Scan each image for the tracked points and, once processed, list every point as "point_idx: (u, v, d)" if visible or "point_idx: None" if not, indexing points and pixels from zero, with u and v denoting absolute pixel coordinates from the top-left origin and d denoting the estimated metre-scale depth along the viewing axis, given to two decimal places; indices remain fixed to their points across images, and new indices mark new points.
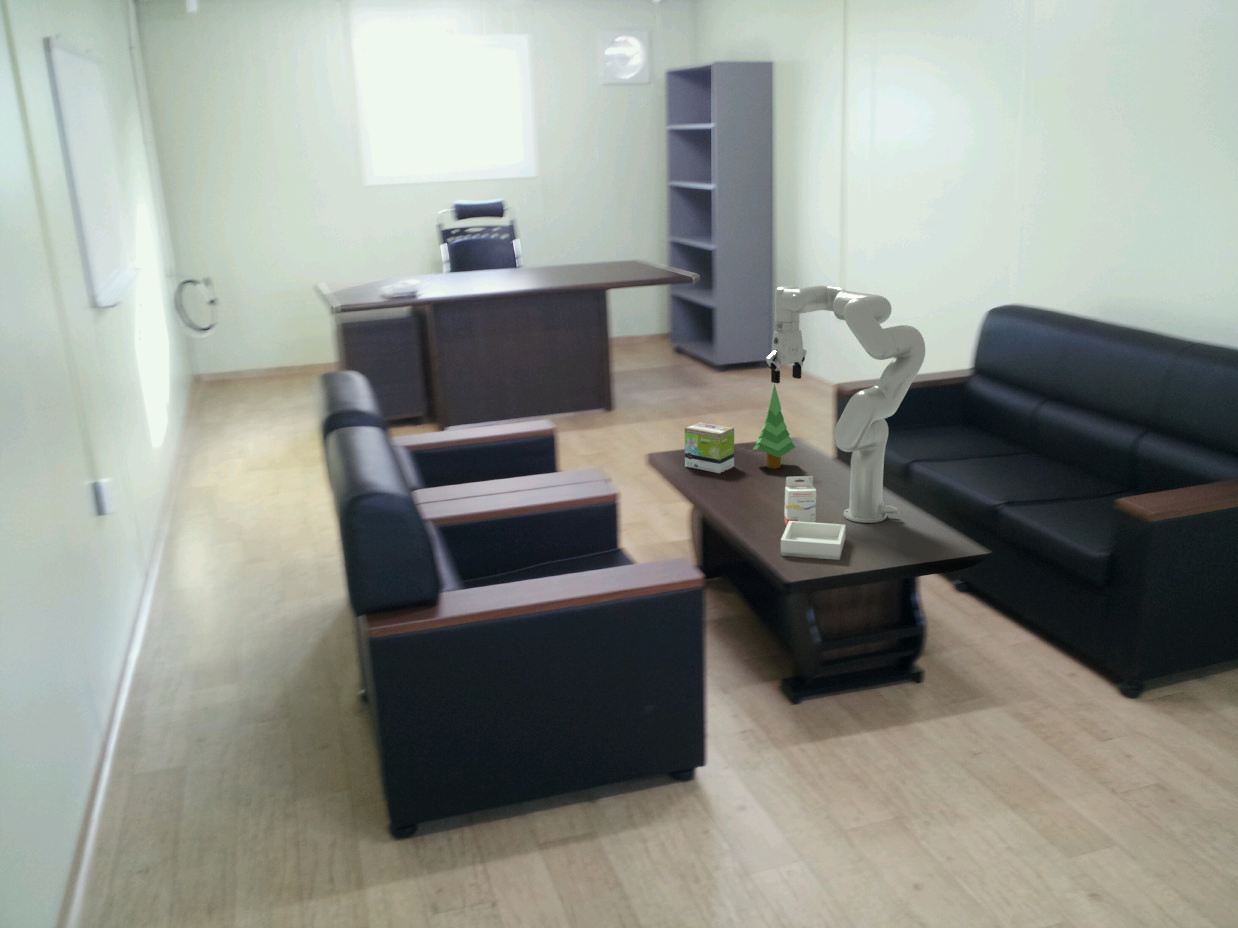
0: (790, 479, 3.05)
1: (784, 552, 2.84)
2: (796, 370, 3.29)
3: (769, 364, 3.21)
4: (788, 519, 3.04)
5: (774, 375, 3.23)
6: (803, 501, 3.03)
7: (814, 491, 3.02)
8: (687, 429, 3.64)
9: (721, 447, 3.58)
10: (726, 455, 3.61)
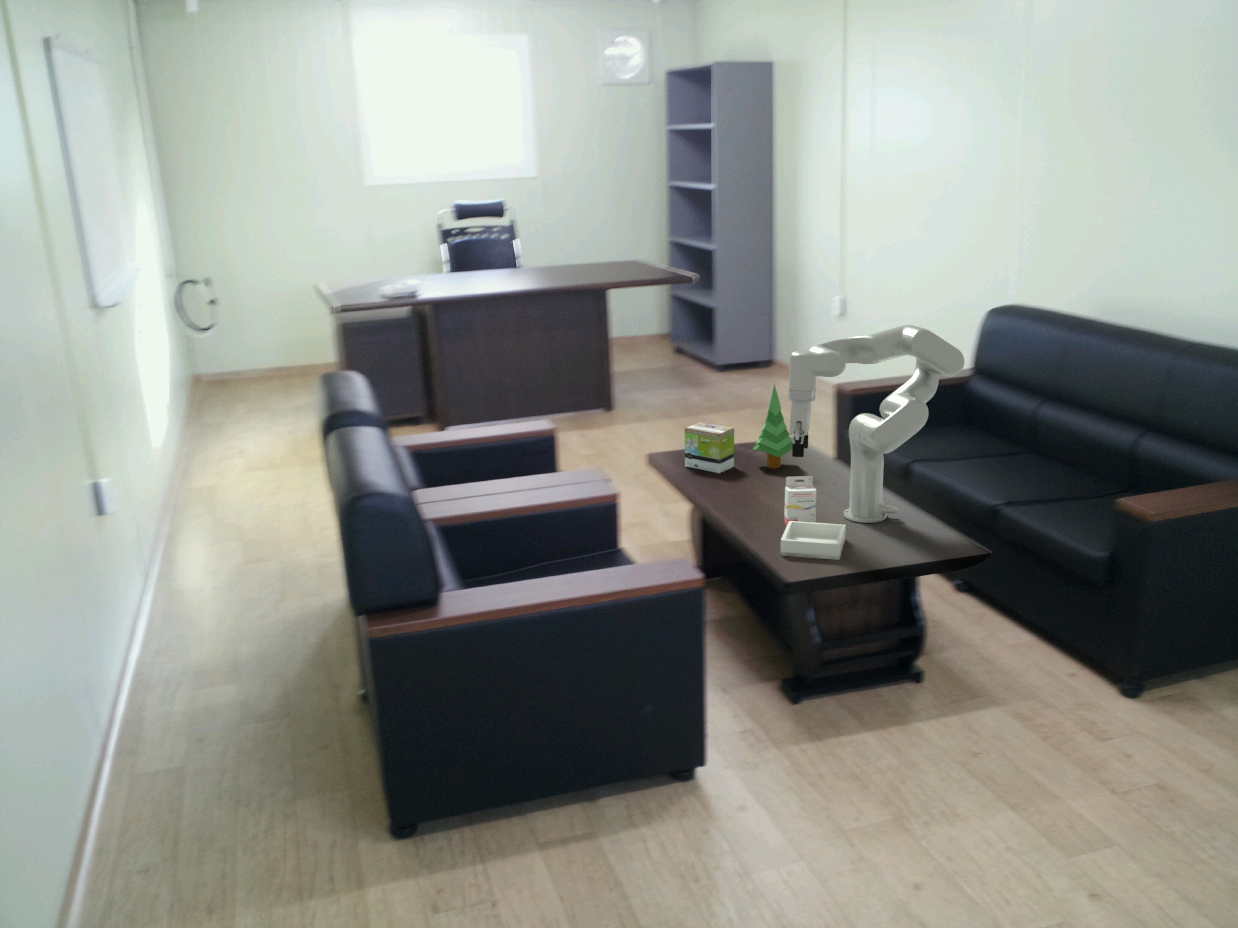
0: (790, 479, 3.05)
1: (784, 552, 2.84)
2: None
3: None
4: (788, 519, 3.04)
5: None
6: (803, 501, 3.03)
7: (814, 491, 3.02)
8: (687, 429, 3.64)
9: (721, 447, 3.58)
10: (726, 455, 3.61)
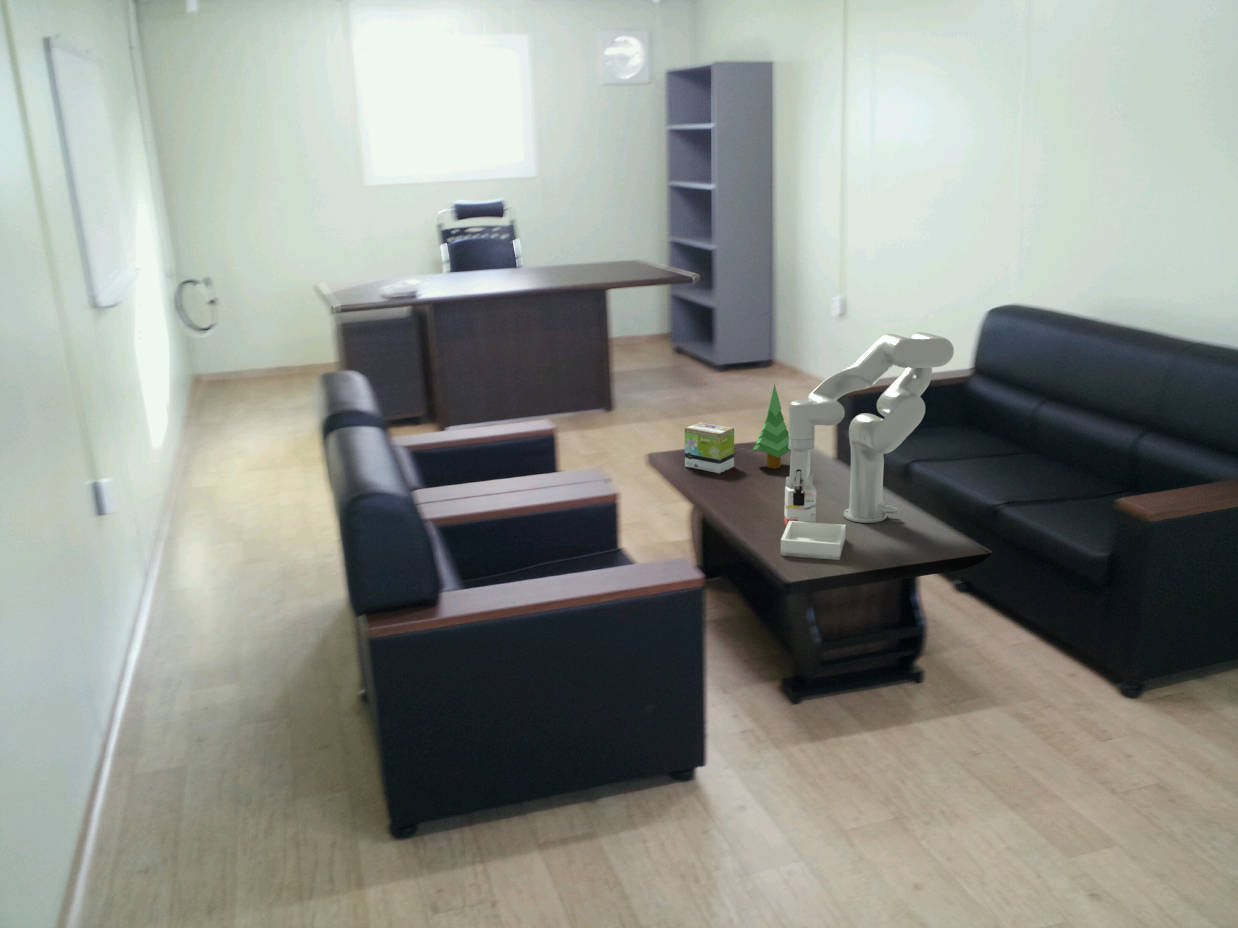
0: None
1: (784, 552, 2.84)
2: None
3: None
4: (788, 519, 3.04)
5: None
6: None
7: (814, 491, 3.02)
8: (687, 429, 3.64)
9: (721, 447, 3.58)
10: (726, 455, 3.61)
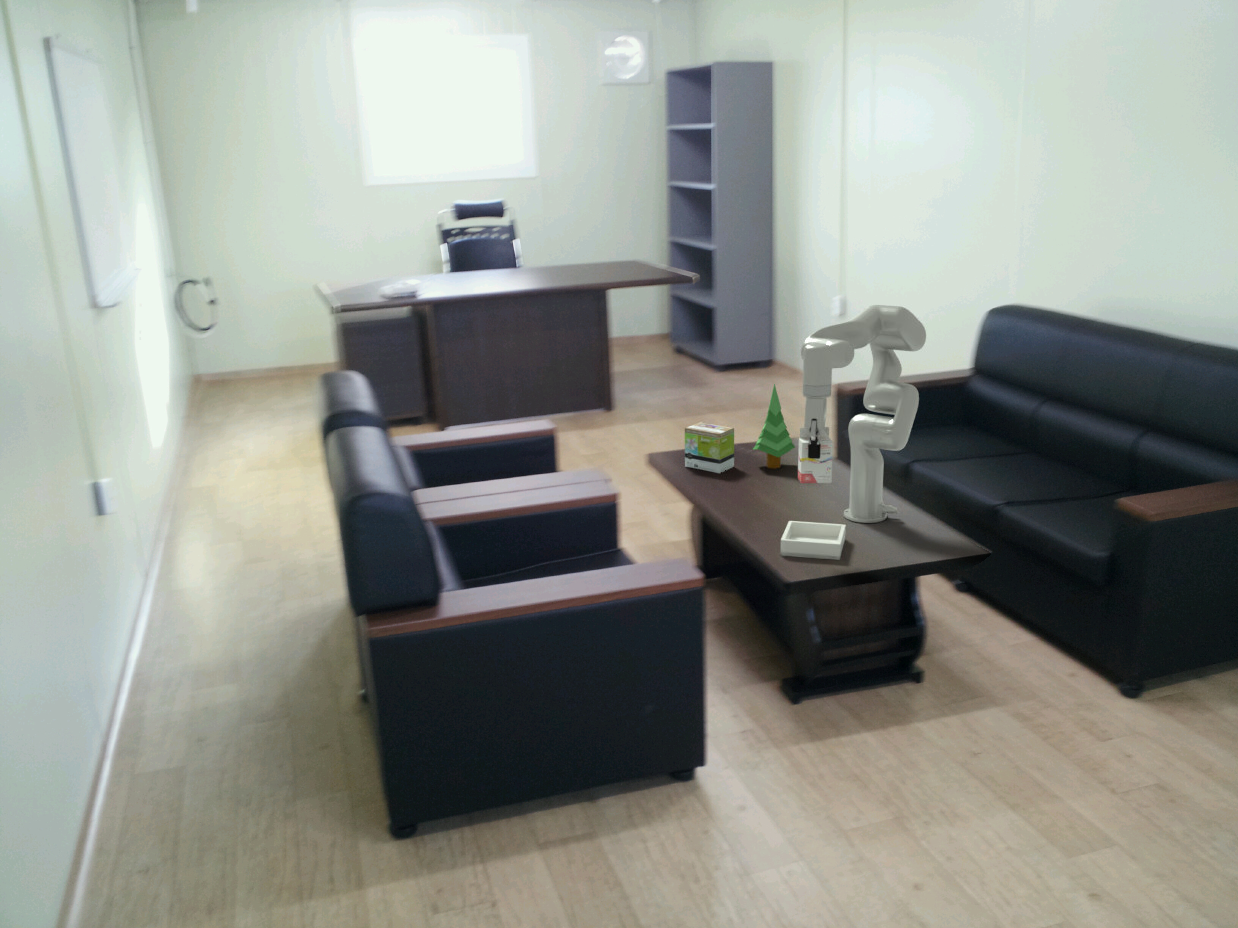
0: None
1: (784, 552, 2.84)
2: None
3: None
4: (802, 473, 2.81)
5: None
6: None
7: (830, 443, 2.79)
8: (687, 429, 3.64)
9: (721, 447, 3.58)
10: (726, 455, 3.61)
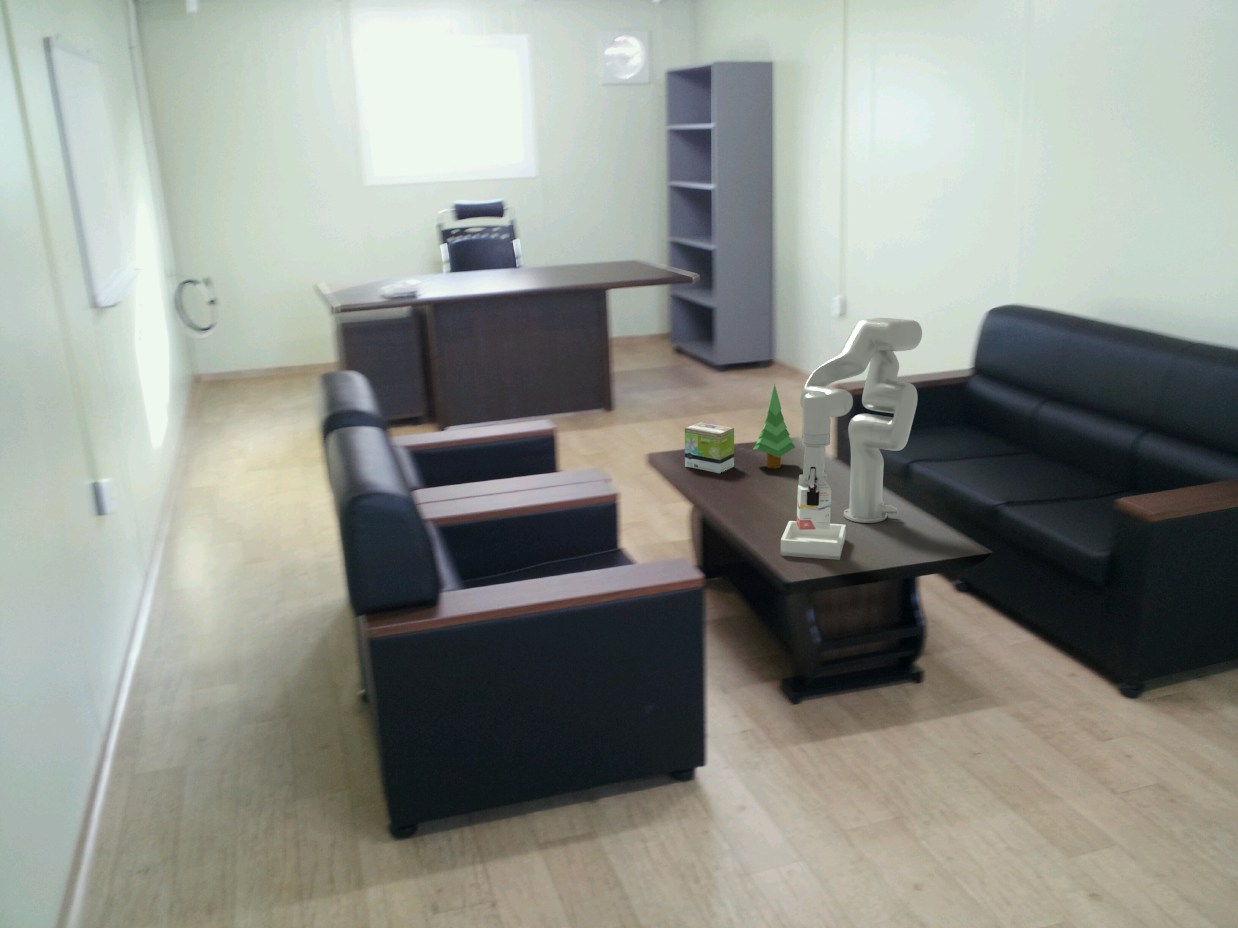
0: None
1: (784, 552, 2.84)
2: None
3: None
4: (801, 520, 2.85)
5: None
6: None
7: (829, 490, 2.83)
8: (687, 429, 3.64)
9: (721, 447, 3.58)
10: (726, 455, 3.61)
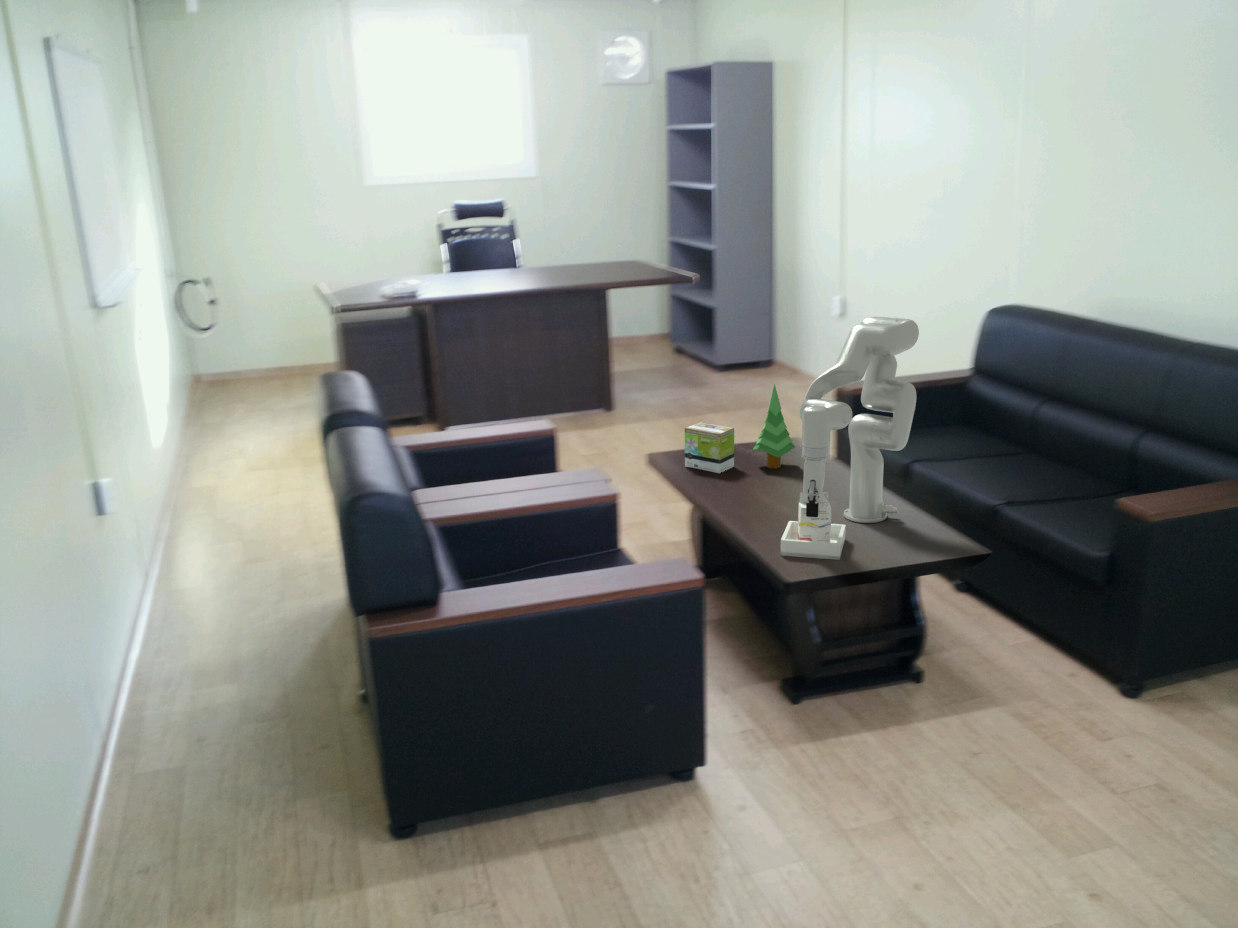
0: (804, 495, 2.88)
1: (784, 552, 2.84)
2: None
3: None
4: (801, 537, 2.87)
5: None
6: (817, 518, 2.85)
7: (829, 508, 2.84)
8: (687, 429, 3.64)
9: (721, 447, 3.58)
10: (726, 455, 3.61)
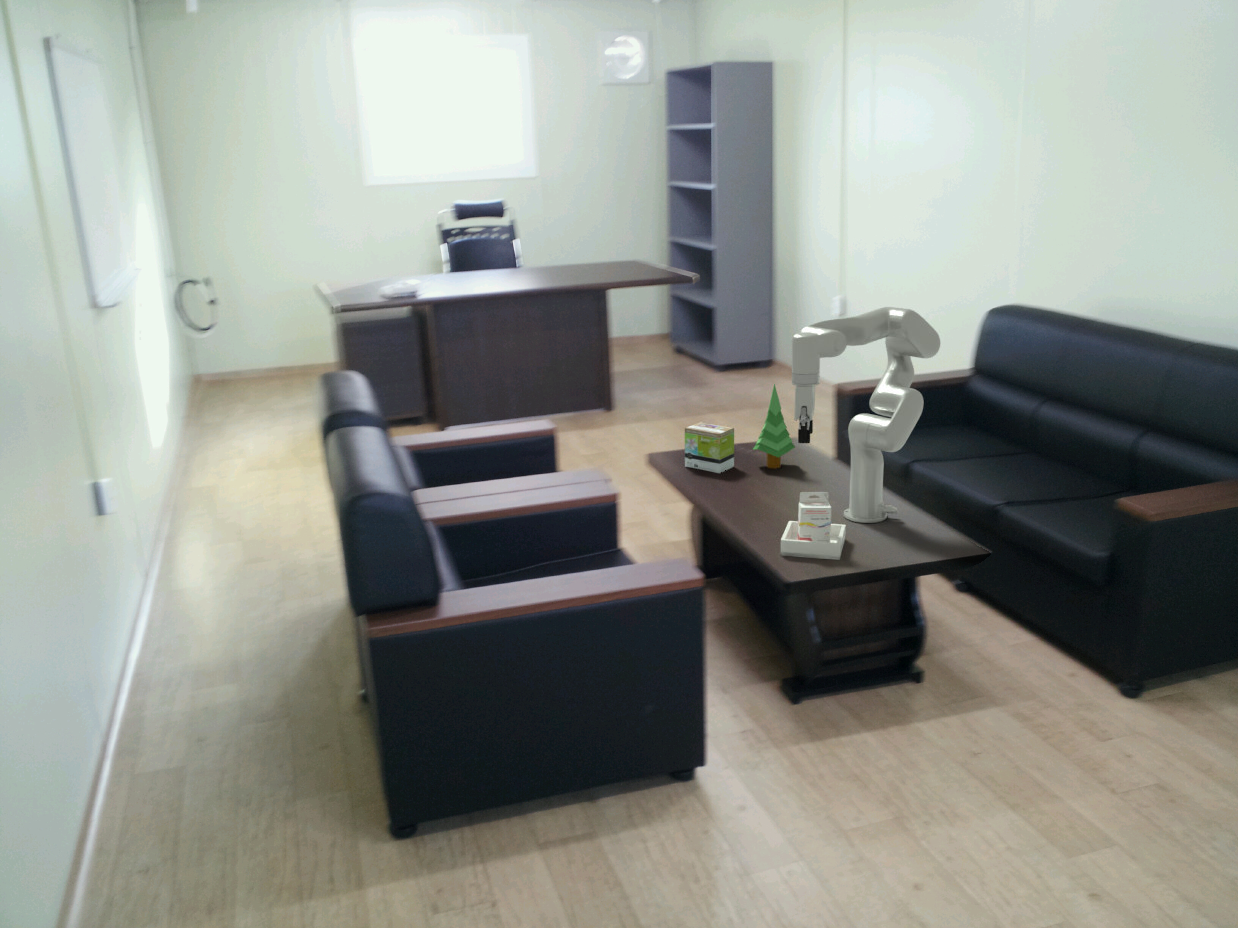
0: (804, 495, 2.88)
1: (784, 552, 2.84)
2: None
3: None
4: (801, 537, 2.87)
5: None
6: (817, 518, 2.85)
7: (829, 508, 2.84)
8: (687, 429, 3.64)
9: (721, 447, 3.58)
10: (726, 455, 3.61)
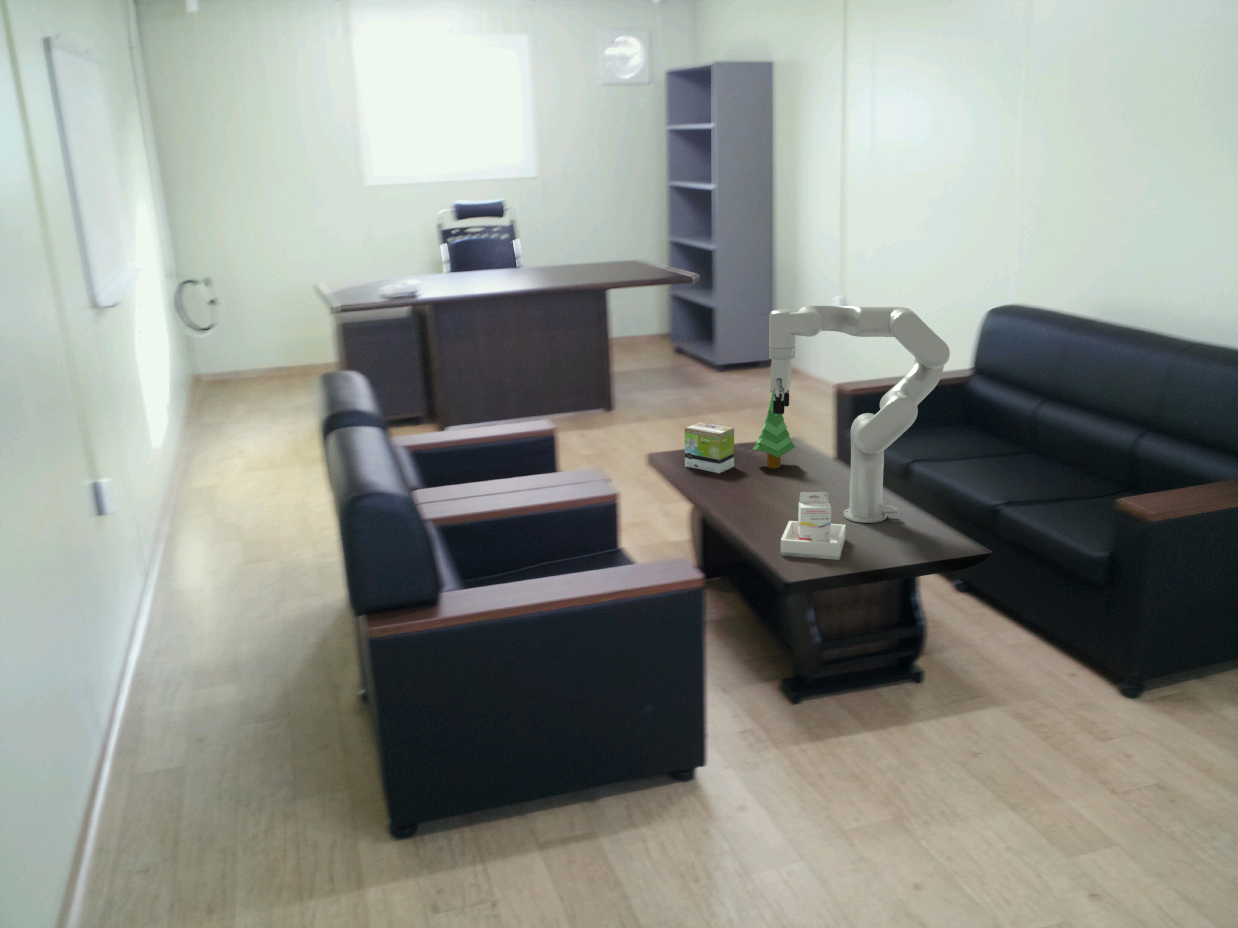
0: (804, 495, 2.88)
1: (784, 552, 2.84)
2: None
3: None
4: (801, 537, 2.87)
5: None
6: (817, 518, 2.85)
7: (829, 508, 2.84)
8: (687, 429, 3.64)
9: (721, 447, 3.58)
10: (726, 455, 3.61)
